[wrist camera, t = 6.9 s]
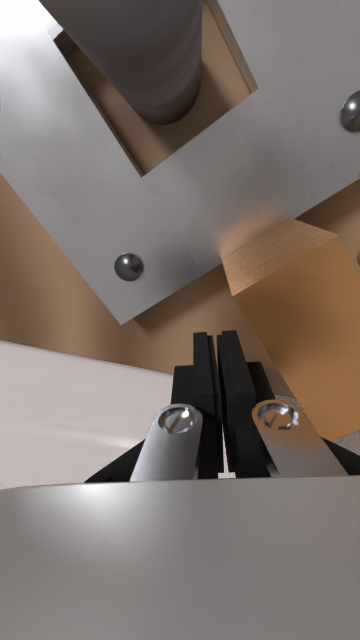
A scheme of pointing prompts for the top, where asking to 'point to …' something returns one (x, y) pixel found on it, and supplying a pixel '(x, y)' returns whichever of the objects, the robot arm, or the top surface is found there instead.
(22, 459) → the top surface
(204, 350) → the robot arm
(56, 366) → the top surface
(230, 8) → the flange plate
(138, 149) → the board
